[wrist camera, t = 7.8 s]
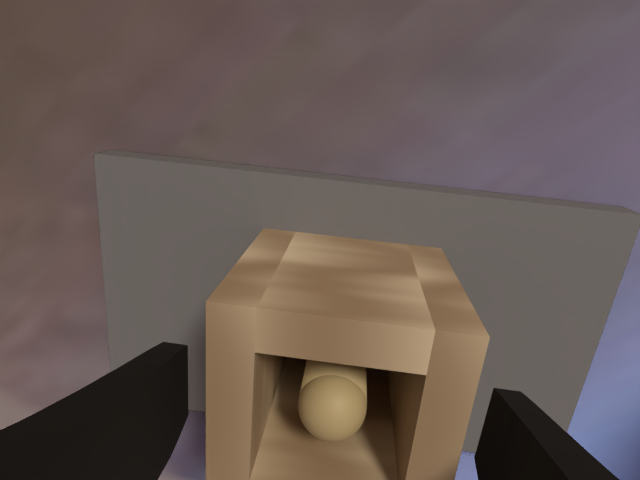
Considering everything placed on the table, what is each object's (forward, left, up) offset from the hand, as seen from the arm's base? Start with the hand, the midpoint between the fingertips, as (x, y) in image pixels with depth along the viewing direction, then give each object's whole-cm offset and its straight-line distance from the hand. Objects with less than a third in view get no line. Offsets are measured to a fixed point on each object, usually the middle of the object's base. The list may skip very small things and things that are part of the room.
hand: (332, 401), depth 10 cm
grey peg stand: (0, 0, -5) cm, 5 cm away
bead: (0, 0, -4) cm, 4 cm away
